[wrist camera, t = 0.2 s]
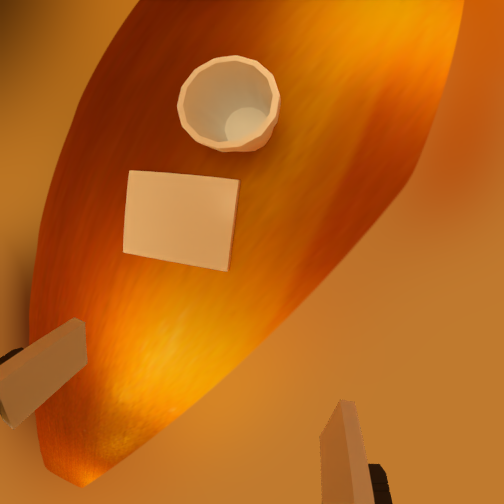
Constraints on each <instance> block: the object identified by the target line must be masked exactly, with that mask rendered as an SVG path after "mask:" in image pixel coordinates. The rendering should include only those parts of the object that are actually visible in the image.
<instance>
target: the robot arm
mask: <svg viewBox="0 0 504 504" xmlns="http://www.w3.org/2000/svg"><path fill="white" fill-rule="evenodd" d="M86 364H87V351H86V335H85V322H83V321H81V320H79V319H77V318H75V317H74V318H72V319H71V320H69V321H68V322H66V323H64V324H63V325H61V326H60V327H58V328H57V329H55V330H53V331H52V332H50V333H49V334H47V335H45V336H44V337H42V338H41V339H39V340H38V341H36V342H35V343H33V344H32V345H30V346H28V347H27V348H25V349H23V348H18V349H14V350H12V351H10V352H9V353H7V354H6V355H5V356H2V357H1V358H0V414H1V416H2V419H3V421H4V422H5V423H7V424H8V425H9V426H10V427H11V428H12V429H13V430H14V429H15V428H16V427H17V426H18V425H19V424H20V423H21V422H23V420H25V419H26V418H27V417H28V416H29V415H30V414H31V413H32V412H34V411H35V410H36V409H37V408H38V407H39V406H40V405H41V404H42V403H43V402H45V401H46V400H47V399H48V398H49V397H50V396H51V395H52V394H53V393H55V392H56V391H57V390H58V389H59V388H60V387H61V386H62V385H64V384H65V383H66V382H67V381H68V380H69V379H70V378H71V377H73V376H74V375H75V374H76V373H77V372H78V371H79V370H81V369H82V368H83V367H84V366H85V365H86ZM320 456H321V485H322V504H392V499H391V495H390V492H389V485H388V484H387V483H388V481H387V476H386V473H385V471H384V470H383V468H382V467H381V466H380V464H368V462H367V457H366V452H365V447H364V442H363V437H362V433H361V428H360V424H359V419H358V415H357V411H356V406H355V402H352V401H345V400H340V401H339V402H338V404H337V406H336V408H335V410H334V412H333V414H332V416H331V418H330V419H329V421H328V423H327V425H326V426H325V428H324V430H323V432H322V433H321V435H320Z"/></svg>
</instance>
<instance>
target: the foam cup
mask: <svg viewBox="0 0 504 504" xmlns="http://www.w3.org/2000/svg"><path fill="white" fill-rule="evenodd" d="M280 105H281V99H280V94H279V91H278V88H277V85H276V82H275V79H274V76H273V75H272V74H271V73H270V72H269V71H268V70H267V69H266V68H265V67H264V66H262V65H261V64H260V63H259V62H258V61H255V60H252V59H248V58H245V57H241V56H237V55H234V56H227V57H219V58H214V59H212V60H210V61H208V62H207V63H205V64H203V65H201V66H200V67H198V68H196V69H195V70H194V71H193V72H192V74H191V75H190V76H189V77H188V79H187V80H186V81H185V83H184V84H183V85H182V87H181V91H180V95H179V100H178V104H177V109H178V113H179V117H180V121H181V125H182V127H183V128H184V129H185V130H186V131H187V132H188V133H189V134H190V136H191V137H192V138H193V139H194V140H195V141H196V142H198V143H200V144H202V145H204V146H207V147H210V148H213V149H215V150H218V151H221V152H231V151H238V152H250V151H256V150H258V149H260V148H261V147H263V146H264V145H265V144H266V143H267V141H268V140H269V139H270V137H271V134H272V131H273V128H274V126H275V125H276V124H277V122H278V116H279V111H280Z"/></svg>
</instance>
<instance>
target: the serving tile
mask: <svg viewBox="0 0 504 504" xmlns="http://www.w3.org/2000/svg"><path fill="white" fill-rule="evenodd" d="M240 182H241V180H235V179H226V178H218V177H208V176H198V175H188V174H176V173H163V172H149V171H133V170H129V177H128V187H127V197H126V208H125V222H124V241H123V252H124V253H129V254H134V255H139V256H144V257H149V258H154V259H160V260H165V261H170V262H176V263H181V264H186V265H192V266H197V267H203V268H208V269H214V270H220V271H225V272H227V271H228V270H229V268H230V260H231V252H232V244H233V236H234V228H235V220H236V212H237V205H238V197H239V190H240Z"/></svg>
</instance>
